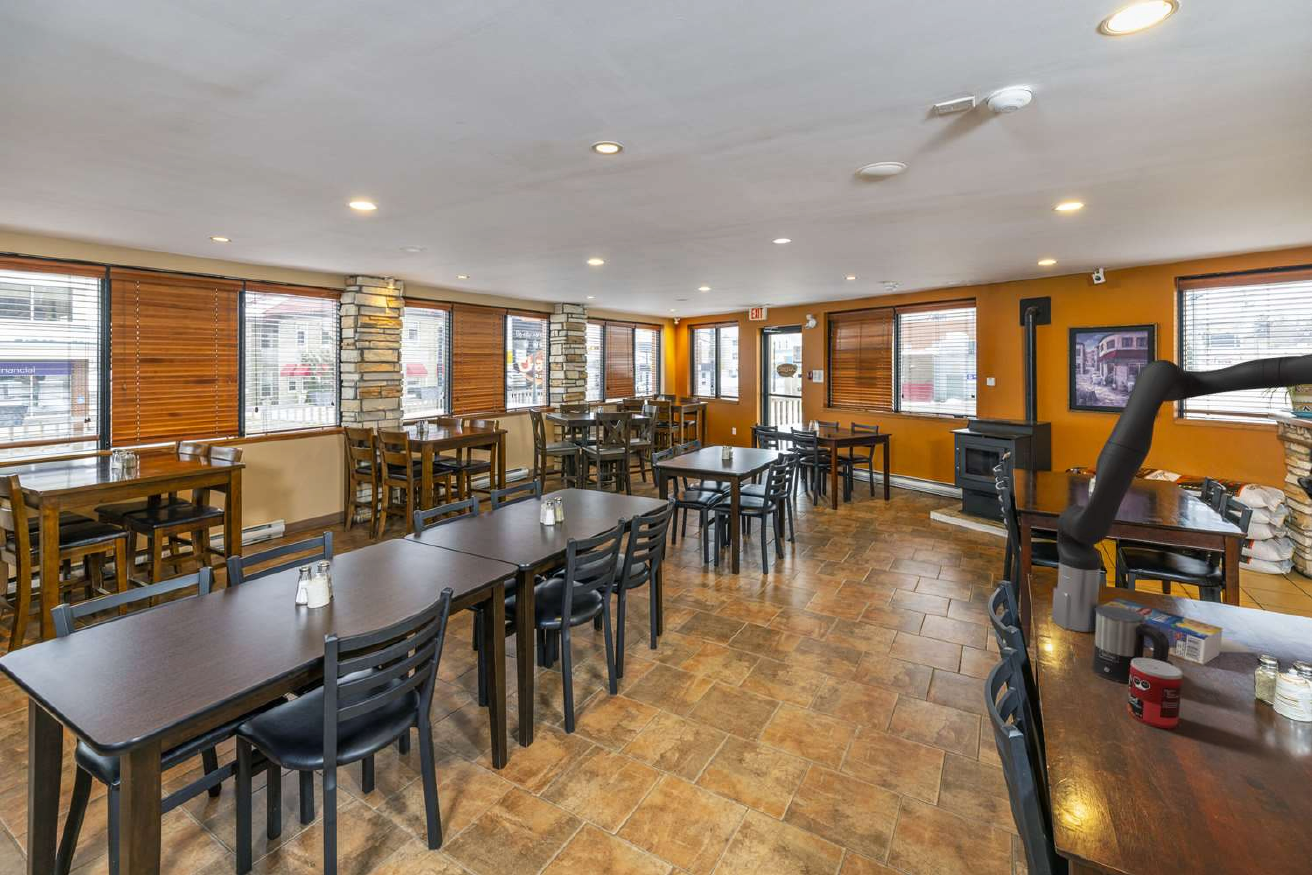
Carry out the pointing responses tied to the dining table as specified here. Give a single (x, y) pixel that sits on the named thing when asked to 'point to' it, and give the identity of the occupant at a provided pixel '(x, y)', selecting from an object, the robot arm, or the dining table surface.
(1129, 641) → the milk frother
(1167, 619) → the beverage box
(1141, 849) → the dining table surface
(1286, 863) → the dining table surface
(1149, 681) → the canned food
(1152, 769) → the dining table surface
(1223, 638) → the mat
